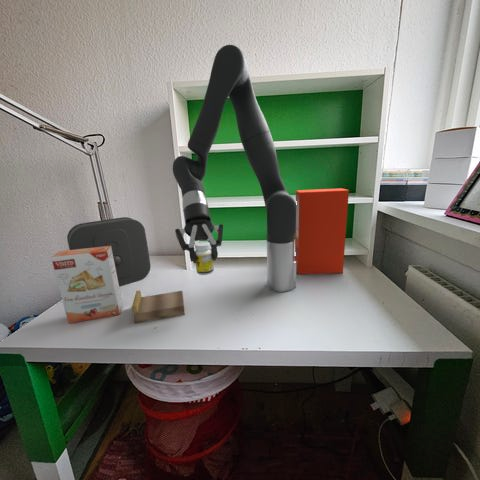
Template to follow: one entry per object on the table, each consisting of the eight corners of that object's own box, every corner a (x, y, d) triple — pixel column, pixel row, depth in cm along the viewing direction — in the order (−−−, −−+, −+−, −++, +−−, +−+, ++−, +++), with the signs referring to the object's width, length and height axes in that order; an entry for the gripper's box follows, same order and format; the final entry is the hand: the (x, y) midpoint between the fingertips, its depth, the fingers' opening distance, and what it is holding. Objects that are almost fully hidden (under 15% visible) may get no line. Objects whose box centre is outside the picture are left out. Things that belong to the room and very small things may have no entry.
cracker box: (67, 325, 72) (49, 256, 66) (75, 314, 78) (58, 250, 72) (120, 315, 75) (106, 250, 70) (123, 305, 81) (111, 244, 75)
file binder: (343, 273, 97) (348, 190, 88) (298, 274, 98) (299, 192, 89) (336, 265, 104) (340, 188, 96) (294, 267, 105) (295, 190, 97)
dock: (183, 298, 84) (181, 284, 82) (184, 314, 74) (182, 298, 73) (139, 306, 80) (136, 291, 79) (134, 323, 71) (131, 306, 69)
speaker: (146, 271, 108) (137, 215, 101) (153, 277, 102) (144, 217, 95) (79, 291, 93) (63, 225, 86) (83, 299, 87) (66, 229, 80)
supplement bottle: (195, 270, 71) (192, 242, 69) (211, 267, 72) (208, 240, 70) (198, 277, 67) (195, 247, 64) (215, 273, 68) (213, 244, 66)
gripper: (170, 204, 70) (176, 258, 62) (220, 199, 73) (232, 250, 65) (172, 219, 76) (178, 270, 68) (218, 214, 79) (229, 262, 71)
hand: (204, 260), depth 67 cm, fingers closed on supplement bottle, 4 cm apart
